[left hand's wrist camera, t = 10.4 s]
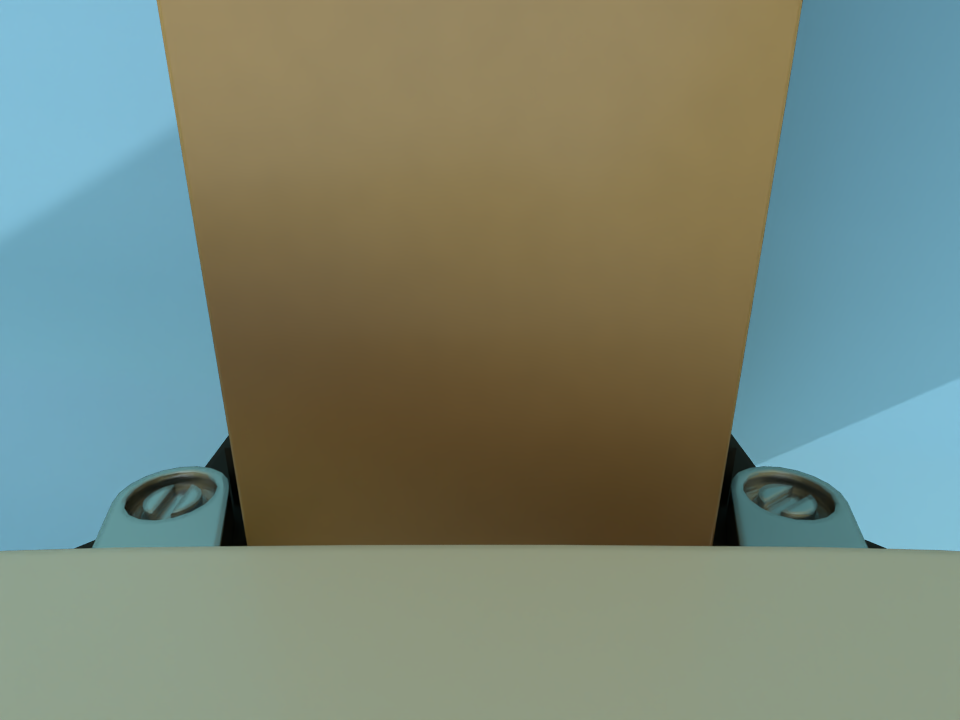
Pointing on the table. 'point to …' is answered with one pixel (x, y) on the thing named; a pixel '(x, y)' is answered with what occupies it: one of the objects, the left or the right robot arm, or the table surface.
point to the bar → (479, 257)
